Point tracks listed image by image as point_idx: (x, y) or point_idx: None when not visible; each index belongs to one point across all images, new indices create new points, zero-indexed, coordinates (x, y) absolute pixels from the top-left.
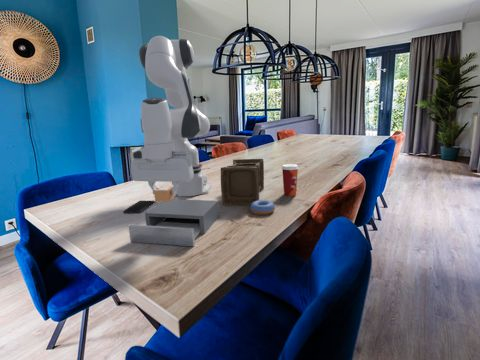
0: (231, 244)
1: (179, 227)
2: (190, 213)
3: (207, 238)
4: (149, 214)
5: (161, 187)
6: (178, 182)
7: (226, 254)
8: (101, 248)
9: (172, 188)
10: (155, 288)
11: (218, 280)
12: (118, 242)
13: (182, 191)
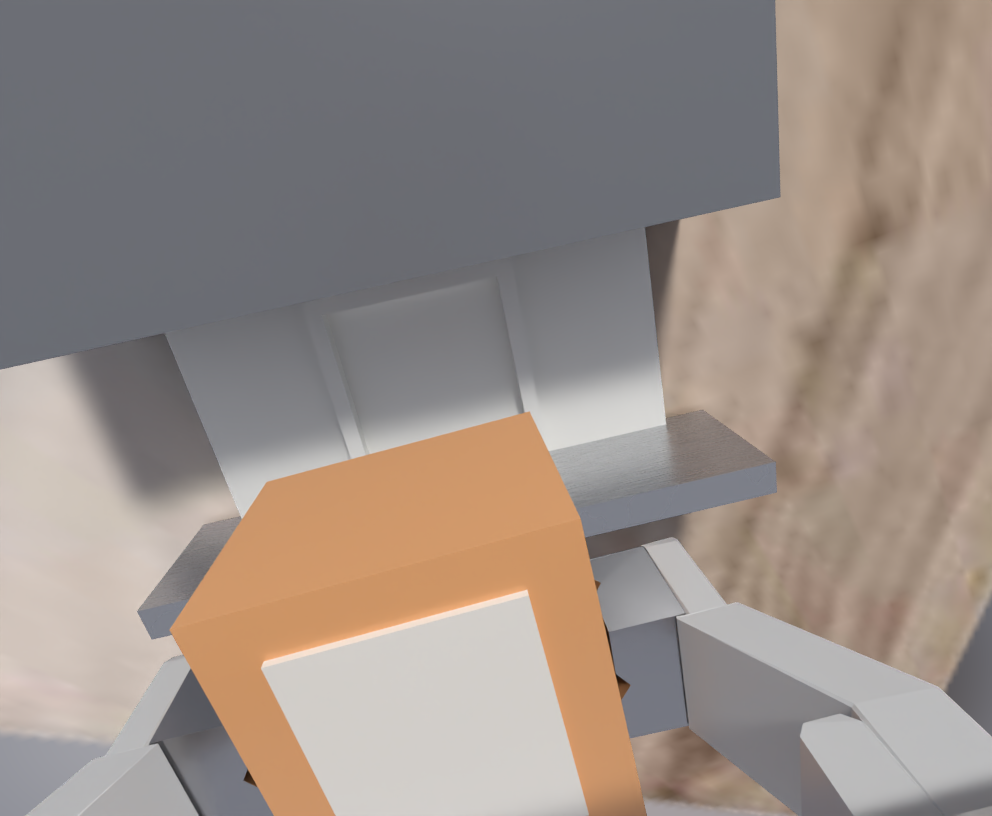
0: (945, 296)
1: (644, 493)
2: (587, 175)
3: (740, 273)
4: (65, 352)
5: (252, 681)
6: (974, 741)
7: (940, 428)
8: (109, 673)
9: (734, 759)
10: (715, 770)
11: (954, 634)
12: (127, 578)
13: None
